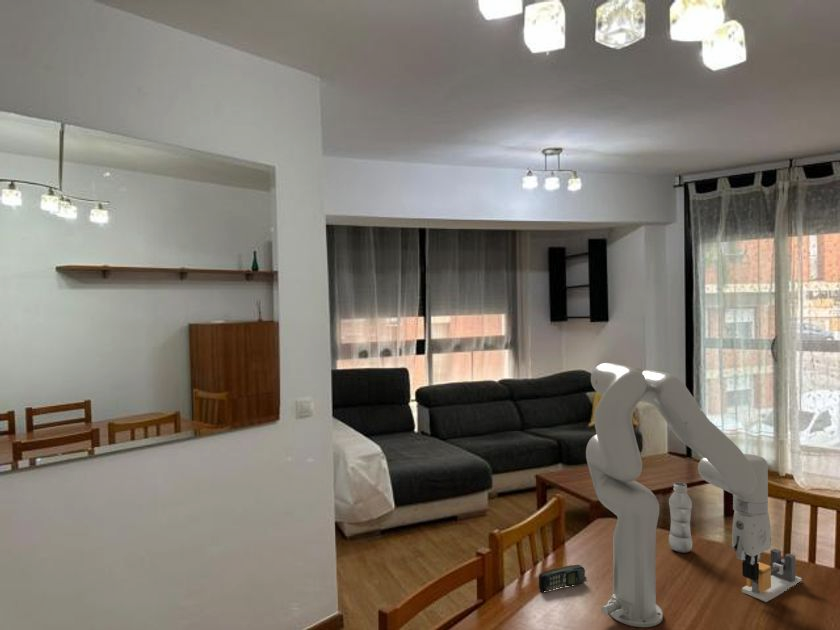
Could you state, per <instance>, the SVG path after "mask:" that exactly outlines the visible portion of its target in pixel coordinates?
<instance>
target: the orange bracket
mask: <svg viewBox="0 0 840 630" xmlns="http://www.w3.org/2000/svg"><path fill="white" fill-rule="evenodd" d="M745 580H746V582H745V583H746V585H745V586H749V587H752V581H753V580H751V579H749V578H746V577H745ZM769 588H771V565H769V564H765V563H763V562H761V561H760V562H759V579H758V591H761V592H764V591H766V590H768V589H769Z"/></svg>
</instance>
